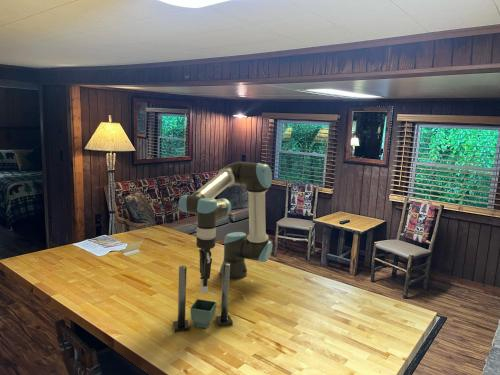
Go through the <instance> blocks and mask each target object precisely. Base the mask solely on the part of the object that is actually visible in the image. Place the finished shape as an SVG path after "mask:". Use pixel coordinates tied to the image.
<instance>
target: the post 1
mask: <svg viewBox="0 0 500 375" xmlns="http://www.w3.org/2000/svg"><path fill="white" fill-rule="evenodd" d="M187 269H188V268H187V266H186V265H180V266H178V286H177V287H178V288H177V289H178V291H177V293H178V297H177V300H178V301H177V320H174V321H172V327H173V330H174V331H173V332H174V333H182V332H189V331H191V326H190V322H189V320H188V319H186V310H187V309H186V308H187V307H186V305H187V303H186V301H187Z"/></svg>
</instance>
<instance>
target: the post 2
mask: <svg viewBox="0 0 500 375" xmlns="http://www.w3.org/2000/svg"><path fill="white" fill-rule="evenodd" d="M222 263H223V262H222ZM221 276H222V278H221V279H222V280H221V297H220V298H221V301H220V302H221V303H220V315H219V316H218V315H217V316H215V315H214V317H215V318H214V319H215V322H216V324H217V326H218V328H220V327H228V326H233V324H234V322H233V320H232V318H231V316H230V315H229V299H230V298H229V295H230V279H231V278H230V263H223V273H222V275H221Z"/></svg>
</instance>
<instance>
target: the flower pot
mask: <svg viewBox="0 0 500 375" xmlns="http://www.w3.org/2000/svg"><path fill="white" fill-rule="evenodd" d="M216 308H217V301H212V300H206V299H199V298H197V299H196V300H195V301H194V302H193V304H192V305H191V306H190V308H189V309H190V317H191V318H190V319H191V321H192V324H193V325H194V326H195V327H196V328H202V329H208V328H209V326H210V324H211V322H212V321H213V319H214V317H215V314H216Z"/></svg>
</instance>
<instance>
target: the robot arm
mask: <svg viewBox="0 0 500 375" xmlns="http://www.w3.org/2000/svg"><path fill="white" fill-rule="evenodd" d="M272 181H273V172H272V169H271V167H270V165H268V164H266V163H262V162H251V161H250V162H249V161H236V162H232V163H229V164H227V165H226V166H224V167H222V168H221V169H220V170H219V171H218V172H217V174H216V175H215V176H214V177H213V178H211V179H210V180H208V181H207V182H206V183H205V184H203V186H201V187H200V188H198V189H197V190H195V192H193V193H192V194H190V195H189V194H182V195H181V196H180V197H179V200H178V209H179V210H180V212H183V213H187V214H193V215H196V216H197V217H196V218H197V219H196V221H197V222H196V229H195V232H196V240H195V241H196V243H195V244H196V247H197V248H198V251H199V274H200V294H208V293H209V280H210V279H211V269H212V262H213V258H211V257H212V251H211V249H214V248H215V247H216V236H217V235H216V233H217V220H219V219H221V218H223V217H226V216H227V215H229V214H230V213H231V211H232V203H231V201H229V200H228V199H227V198H224V197H223V198H218V199H215V198H216V197H217V196H218V195H219V194H220V193H222V192H223V191H224V190H225V189H226V188H228V187H232V186H234V185H242V186H244V187H245V189H244V191H246V192H247V193H248V194H247V195H248V226H249V228H248V230H249V231H248V232H249V234H248V235H247V234H246V233H245V232H243V231H234V232H230V233H227V234H226V235H225V236H224V242H223V244H224V245H223V248H224V249H223V261H222V264H221V265H220V270H219V274H220V275H221V276H222V273H223V263H230V279H234V280H235V279H236V280H237V279H242V278H245V277H246V276H247V275H248V268H247V264H246V262H245V260H246V259H247V260H251V261H257V263H258V262H259V263H261V262H262V263H266V262H267V261H268V260H269V258H270V257H271V254H272V252H273V246H274V245H273V244H274V243H273V241H271V240H269V235H268V234H267V232H266V230H267V229H266V192H267V191H268V190H269V188H271V186H272Z"/></svg>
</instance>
